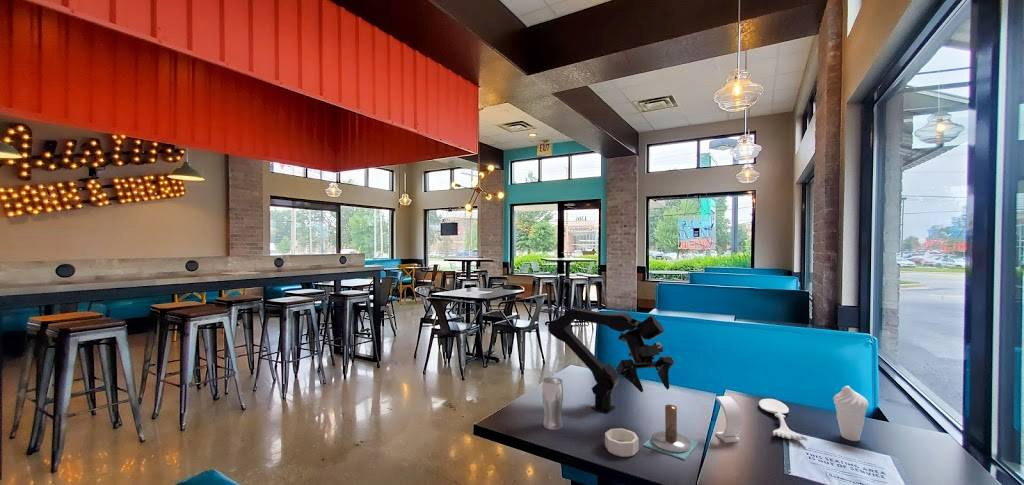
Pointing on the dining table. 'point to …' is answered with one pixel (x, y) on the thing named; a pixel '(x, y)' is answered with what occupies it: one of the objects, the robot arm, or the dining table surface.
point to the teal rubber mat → (678, 455)
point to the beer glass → (552, 402)
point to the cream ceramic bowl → (621, 442)
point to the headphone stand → (730, 419)
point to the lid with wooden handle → (671, 434)
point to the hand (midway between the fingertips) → (655, 390)
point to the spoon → (779, 410)
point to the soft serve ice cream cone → (850, 413)
